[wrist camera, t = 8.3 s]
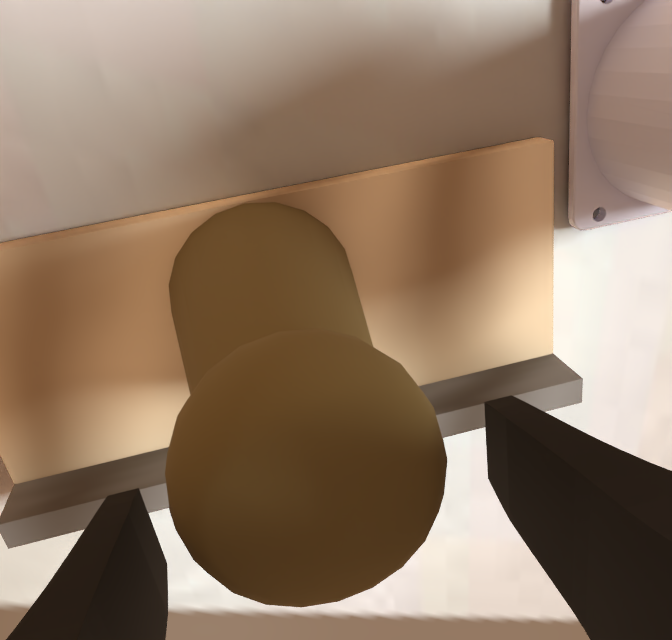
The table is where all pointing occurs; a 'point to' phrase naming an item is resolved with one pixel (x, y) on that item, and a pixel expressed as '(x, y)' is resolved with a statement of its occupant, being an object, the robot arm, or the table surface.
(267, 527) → the cork
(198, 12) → the table surface
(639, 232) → the table surface
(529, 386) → the shelf board
